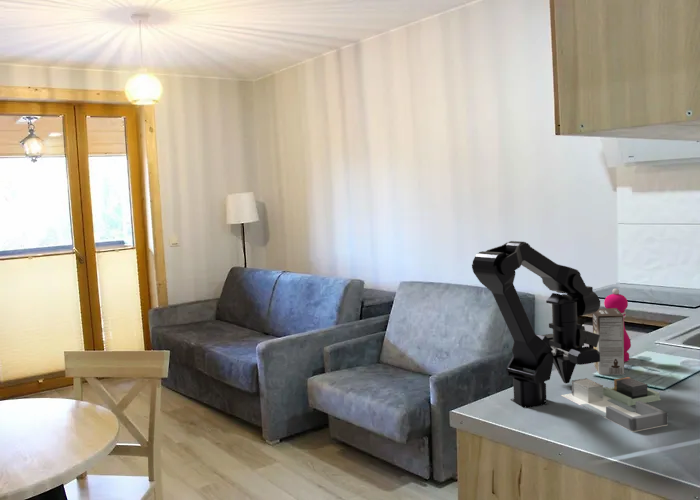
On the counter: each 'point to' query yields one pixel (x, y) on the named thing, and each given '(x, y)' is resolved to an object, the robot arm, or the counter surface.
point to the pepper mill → (621, 304)
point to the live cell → (630, 387)
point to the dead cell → (587, 390)
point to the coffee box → (609, 341)
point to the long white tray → (625, 413)
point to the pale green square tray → (627, 400)
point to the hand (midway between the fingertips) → (566, 382)
